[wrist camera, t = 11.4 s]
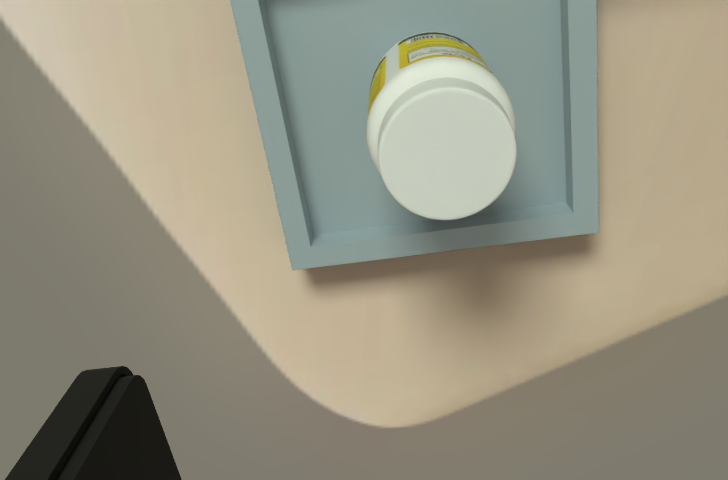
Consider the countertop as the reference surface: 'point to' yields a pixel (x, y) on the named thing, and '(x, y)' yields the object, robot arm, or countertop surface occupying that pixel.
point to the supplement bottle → (440, 127)
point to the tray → (350, 112)
